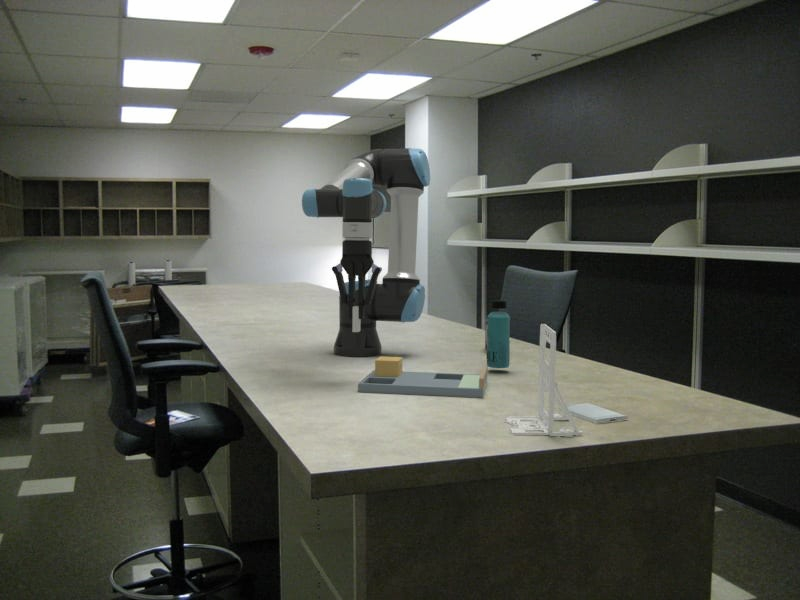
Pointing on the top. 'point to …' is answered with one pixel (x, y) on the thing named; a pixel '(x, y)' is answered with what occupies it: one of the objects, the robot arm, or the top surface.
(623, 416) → the hard drive
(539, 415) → the white bracket stand
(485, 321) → the brown semicircular wedge
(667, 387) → the top surface
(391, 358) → the ochre block
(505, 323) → the beverage bottle
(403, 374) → the board
